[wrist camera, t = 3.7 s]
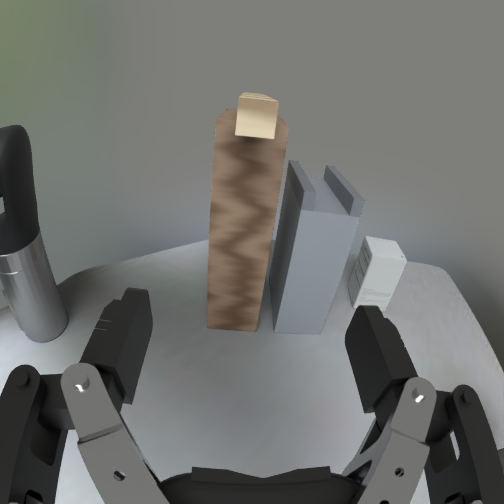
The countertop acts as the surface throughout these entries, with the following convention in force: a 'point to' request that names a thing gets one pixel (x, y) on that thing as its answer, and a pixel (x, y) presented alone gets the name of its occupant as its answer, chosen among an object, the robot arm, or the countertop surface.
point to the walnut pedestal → (241, 221)
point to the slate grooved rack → (311, 247)
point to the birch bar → (256, 116)
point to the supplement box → (376, 272)
